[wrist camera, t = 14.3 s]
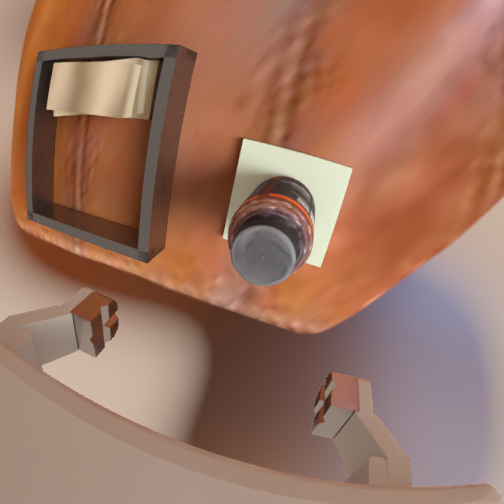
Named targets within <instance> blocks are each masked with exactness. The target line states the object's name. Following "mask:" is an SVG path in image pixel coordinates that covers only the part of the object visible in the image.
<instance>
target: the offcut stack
mask: <svg viewBox="0 0 504 504" xmlns="http://www.w3.org/2000/svg"><path fill="white" fill-rule="evenodd" d="M162 65H163V61H159V60H145V59H141V58H130V59H121V60H112V61H96V62H62V63H54V66H53V71H52V77H51V82H50V88H49V95H48V102H47V110H54V116H68V115H100V116H107V117H114V118H136V119H145V120H152V117H153V111H154V105H155V100H156V95H157V90H158V84H159V80H160V75H161V70H162ZM54 116H53V117H54Z"/></svg>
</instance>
